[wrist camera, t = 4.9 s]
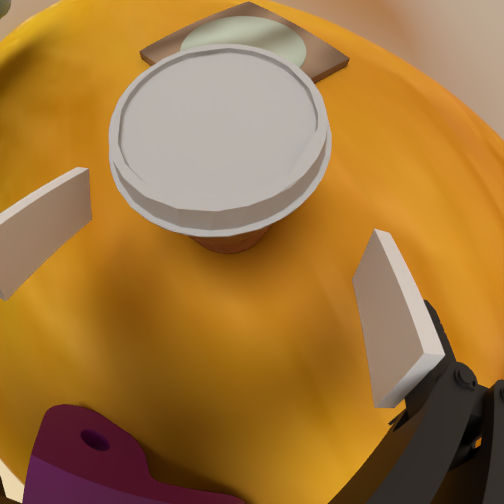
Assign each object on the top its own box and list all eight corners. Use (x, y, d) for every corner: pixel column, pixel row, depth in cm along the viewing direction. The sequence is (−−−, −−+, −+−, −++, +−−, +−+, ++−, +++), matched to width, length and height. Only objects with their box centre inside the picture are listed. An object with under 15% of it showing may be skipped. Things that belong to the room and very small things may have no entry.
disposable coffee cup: (202, 300, 20) (149, 281, 9) (147, 192, 22) (80, 94, 10) (315, 236, 22) (387, 154, 10) (251, 139, 23) (259, 21, 11)
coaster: (141, 58, 25) (138, 50, 24) (248, 8, 28) (248, 0, 27) (234, 134, 23) (234, 124, 22) (346, 65, 26) (350, 57, 24)
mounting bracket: (239, 457, 23) (54, 390, 16) (282, 512, 15) (31, 454, 9) (199, 512, 21) (33, 460, 15) (228, 565, 13) (19, 522, 7)
